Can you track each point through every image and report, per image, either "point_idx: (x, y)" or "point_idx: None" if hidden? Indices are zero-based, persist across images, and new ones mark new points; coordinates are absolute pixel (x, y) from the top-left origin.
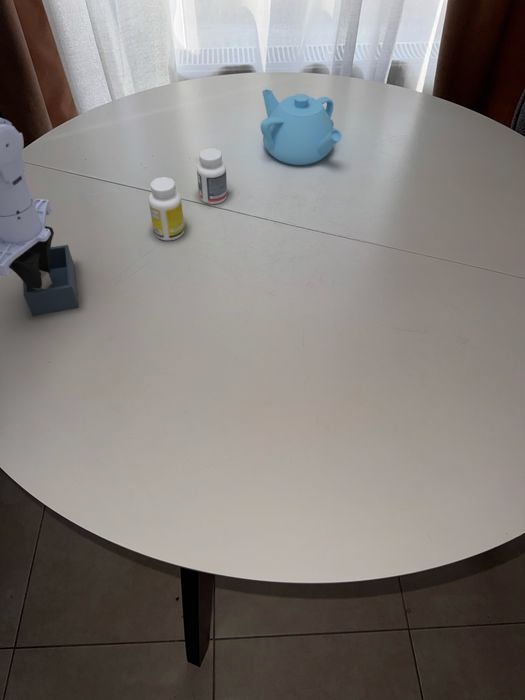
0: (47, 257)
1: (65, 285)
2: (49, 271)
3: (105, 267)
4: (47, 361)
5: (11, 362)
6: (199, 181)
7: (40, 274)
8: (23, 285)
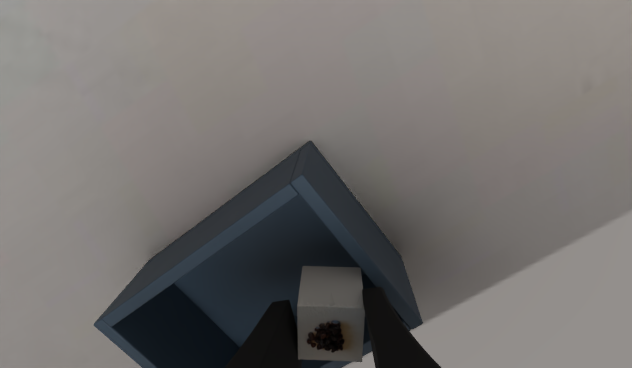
0: (260, 365)
1: (244, 235)
2: (279, 305)
3: (95, 162)
4: (585, 96)
5: (608, 205)
6: None
7: (323, 327)
8: None
